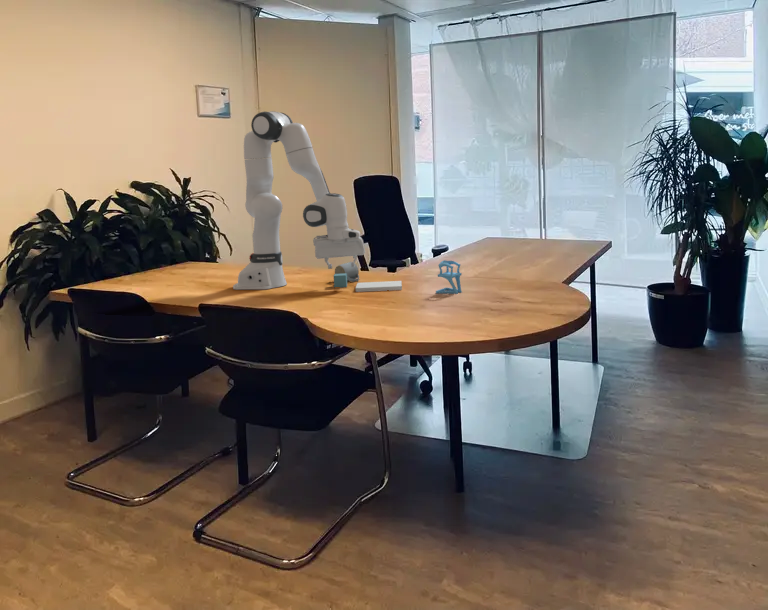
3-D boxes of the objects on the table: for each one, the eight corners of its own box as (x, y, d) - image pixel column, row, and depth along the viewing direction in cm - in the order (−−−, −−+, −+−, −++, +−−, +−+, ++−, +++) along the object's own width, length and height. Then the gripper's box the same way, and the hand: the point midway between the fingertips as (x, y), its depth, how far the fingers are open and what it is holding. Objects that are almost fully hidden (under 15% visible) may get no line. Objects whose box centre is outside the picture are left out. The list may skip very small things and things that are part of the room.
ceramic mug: (333, 281, 280) (332, 263, 279) (348, 278, 286) (347, 260, 284) (349, 283, 273) (348, 265, 271) (364, 280, 278) (363, 263, 277)
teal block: (334, 287, 264) (333, 275, 263) (335, 285, 269) (334, 273, 268) (346, 287, 264) (345, 275, 263) (347, 285, 269) (346, 273, 268)
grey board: (355, 291, 253) (355, 288, 252) (357, 286, 264) (357, 282, 264) (401, 289, 252) (401, 286, 252) (401, 284, 264) (401, 280, 263)
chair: (454, 295, 237) (453, 262, 235) (435, 293, 242) (434, 261, 240) (465, 291, 243) (464, 259, 241) (446, 289, 248) (445, 258, 246)
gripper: (311, 237, 259) (315, 271, 262) (362, 232, 258) (365, 266, 261) (313, 235, 265) (317, 268, 268) (363, 230, 264) (366, 264, 267)
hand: (341, 267), depth 265 cm, fingers open, 8 cm apart
